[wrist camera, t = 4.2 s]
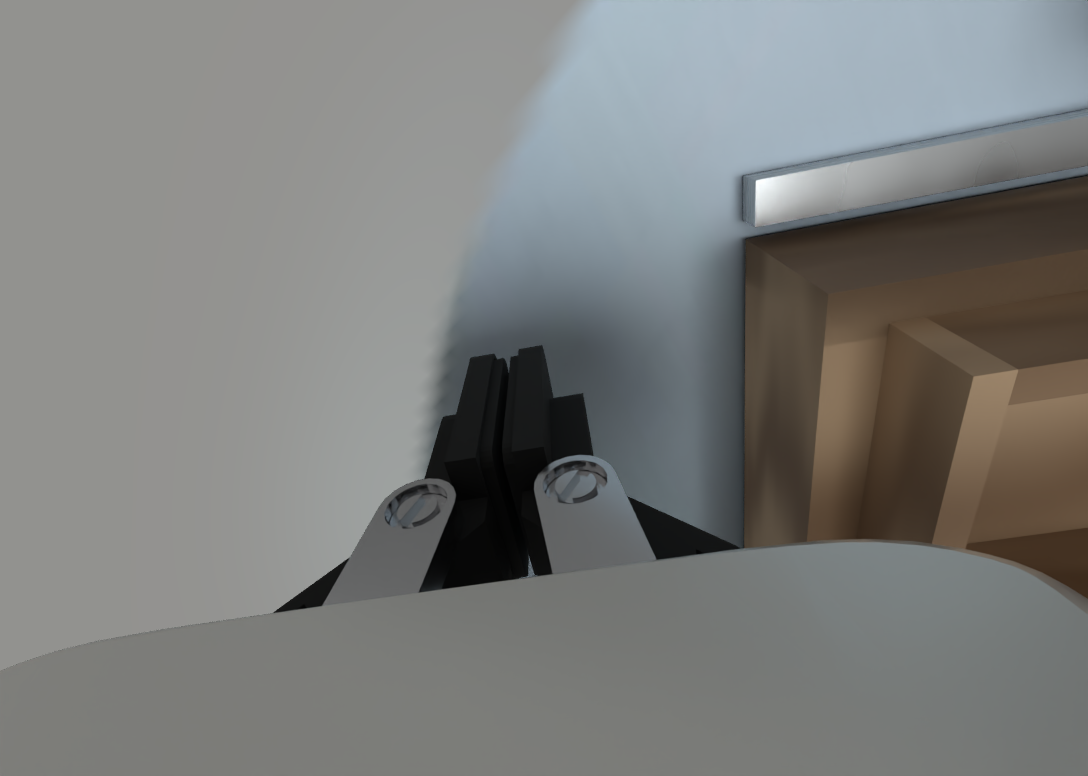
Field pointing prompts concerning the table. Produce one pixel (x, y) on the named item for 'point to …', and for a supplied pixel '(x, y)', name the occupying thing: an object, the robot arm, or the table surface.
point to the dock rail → (917, 169)
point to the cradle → (925, 379)
